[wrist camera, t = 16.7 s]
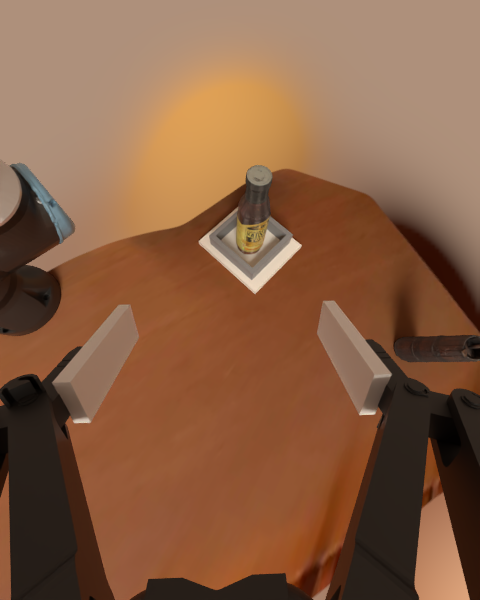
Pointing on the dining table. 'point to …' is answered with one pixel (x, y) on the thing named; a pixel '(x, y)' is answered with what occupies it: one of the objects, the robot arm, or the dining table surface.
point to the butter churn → (439, 348)
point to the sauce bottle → (254, 210)
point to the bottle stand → (250, 266)
